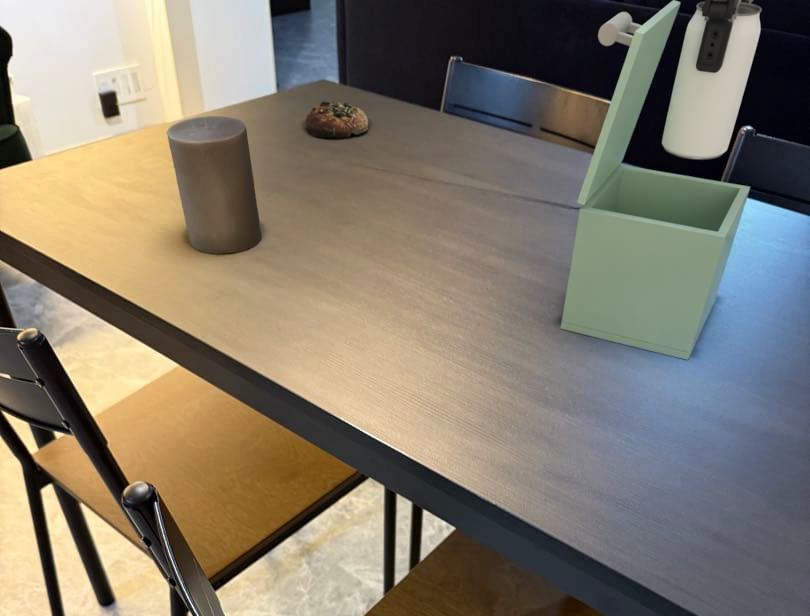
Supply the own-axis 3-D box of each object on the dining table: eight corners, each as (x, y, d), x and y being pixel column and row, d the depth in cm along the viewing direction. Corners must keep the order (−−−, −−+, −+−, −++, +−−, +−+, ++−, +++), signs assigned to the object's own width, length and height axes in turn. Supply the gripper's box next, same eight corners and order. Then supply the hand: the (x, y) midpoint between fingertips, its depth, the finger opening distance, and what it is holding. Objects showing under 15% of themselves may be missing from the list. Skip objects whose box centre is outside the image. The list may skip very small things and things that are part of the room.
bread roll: (298, 136, 130) (297, 103, 127) (315, 125, 138) (314, 93, 135) (362, 143, 129) (362, 109, 126) (374, 131, 137) (375, 99, 134)
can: (655, 155, 76) (687, 11, 67) (665, 135, 80) (696, -4, 71) (722, 164, 74) (764, 17, 65) (729, 143, 78) (769, 2, 69)
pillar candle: (276, 237, 102) (261, 115, 92) (218, 262, 97) (195, 135, 87) (231, 217, 107) (212, 98, 96) (173, 239, 102) (146, 117, 91)
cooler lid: (680, 2, 73) (634, -13, 74) (643, 33, 64) (591, 16, 65) (622, 161, 84) (582, 146, 85) (584, 205, 76) (540, 188, 77)
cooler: (713, 303, 90) (750, 186, 80) (687, 360, 81) (725, 236, 72) (596, 277, 94) (618, 164, 85) (560, 328, 86) (579, 208, 76)
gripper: (817, -178, 54) (742, 87, 66) (838, -186, 63) (769, 49, 75) (709, -181, 56) (656, 76, 68) (744, -188, 65) (692, 40, 77)
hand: (715, 61), depth 71 cm, fingers closed on can, 6 cm apart
